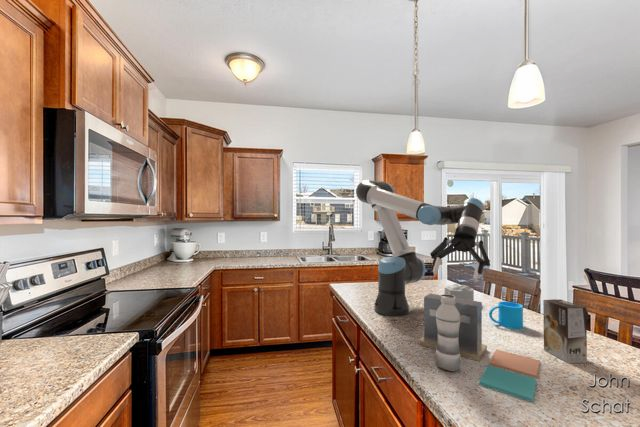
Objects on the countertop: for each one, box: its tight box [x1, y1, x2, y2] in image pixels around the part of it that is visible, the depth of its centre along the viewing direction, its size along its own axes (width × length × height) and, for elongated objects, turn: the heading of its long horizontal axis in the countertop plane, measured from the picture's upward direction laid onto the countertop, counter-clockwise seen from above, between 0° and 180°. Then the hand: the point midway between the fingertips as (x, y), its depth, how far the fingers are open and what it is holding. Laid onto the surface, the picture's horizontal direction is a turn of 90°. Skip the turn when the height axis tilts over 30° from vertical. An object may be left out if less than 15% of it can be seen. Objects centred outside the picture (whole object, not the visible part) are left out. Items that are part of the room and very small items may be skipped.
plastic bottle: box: [434, 293, 462, 372], centre depth 83 cm, size 6×7×20 cm
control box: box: [418, 293, 488, 362], centre depth 97 cm, size 18×10×16 cm, turn 51°
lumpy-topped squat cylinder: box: [443, 283, 475, 301], centre depth 148 cm, size 10×13×9 cm
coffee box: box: [542, 298, 588, 364], centre depth 91 cm, size 9×6×16 cm
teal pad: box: [478, 364, 537, 403], centre depth 76 cm, size 11×11×1 cm
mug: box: [488, 301, 524, 330], centre depth 118 cm, size 12×8×8 cm
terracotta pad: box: [488, 348, 541, 380], centre depth 86 cm, size 11×11×1 cm
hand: (453, 276), depth 106 cm, fingers open, 13 cm apart
